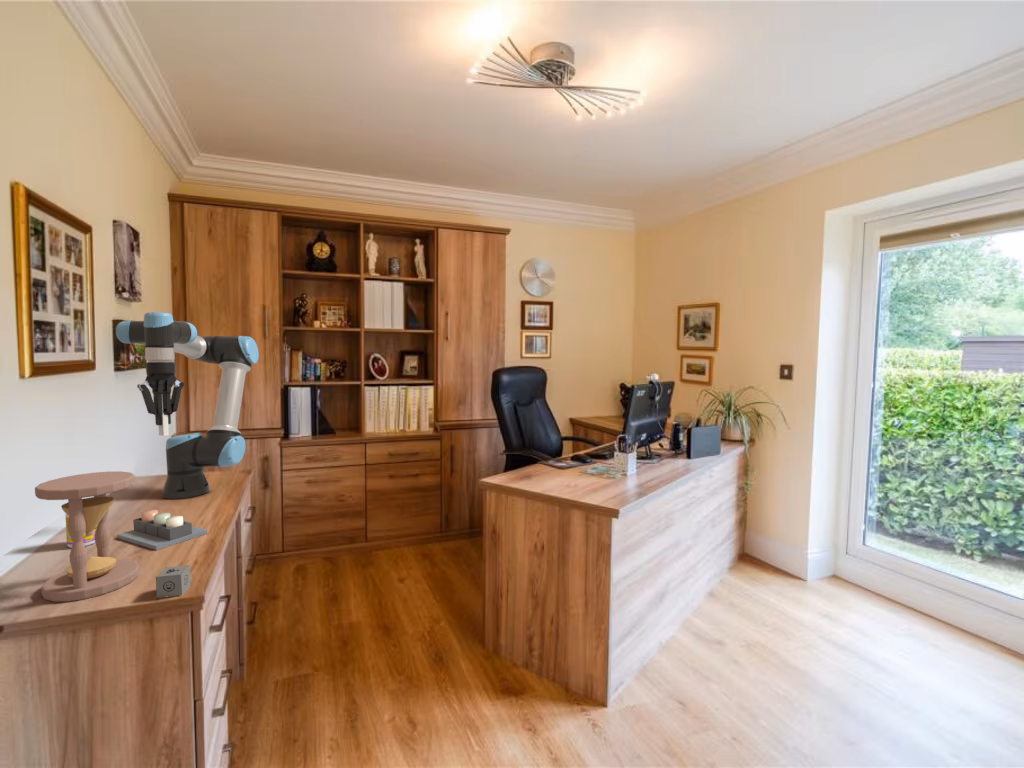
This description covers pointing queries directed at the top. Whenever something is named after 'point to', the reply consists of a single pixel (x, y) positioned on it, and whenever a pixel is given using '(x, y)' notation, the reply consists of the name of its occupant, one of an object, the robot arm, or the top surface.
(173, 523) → the cream button
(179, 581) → the dice cube
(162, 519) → the pale green rounded piece
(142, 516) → the pink rounded piece
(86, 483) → the hourglass
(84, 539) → the supplement bottle
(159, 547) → the panel
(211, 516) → the top surface
